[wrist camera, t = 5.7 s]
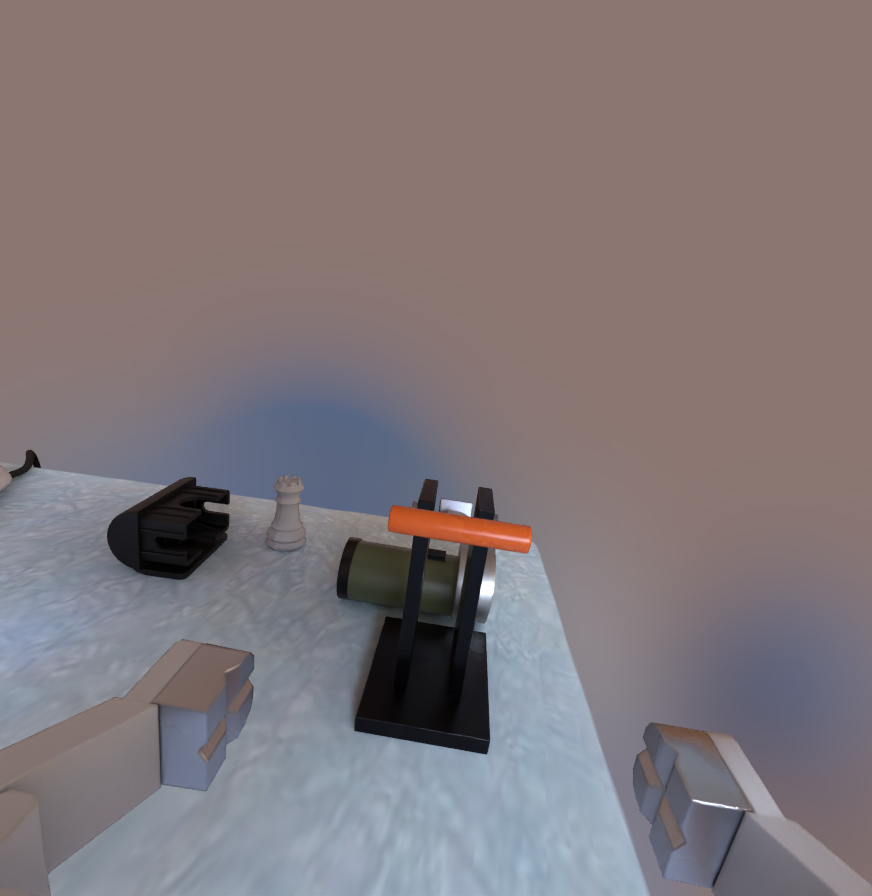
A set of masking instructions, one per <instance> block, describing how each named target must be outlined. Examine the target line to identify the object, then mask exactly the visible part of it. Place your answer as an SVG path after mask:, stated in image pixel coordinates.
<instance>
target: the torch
mask: <svg viewBox="0 0 872 896" xmlns="http://www.w3.org/2000/svg"><path fill="white" fill-rule="evenodd" d="M468 548H469V544H463V543H460V547H459V553H458V556H453V555H447V554H446V551H441V550H435V549H429V550H428V557H427V564H426V571H425V577H424V584H423V591H422V598H421V605H420V611H422V612H428V613H434V614H440V615H446V616H450V617H451V618H454V619H456V618H457V612H458V607H459V601H460V595H461V589H462V583H463V577H464V571H465V565H466V559H467V554H468ZM411 551H412V549H410V548H403V547H397V546H391V545H385V544H379V543H372V542H366V541H362V539H360V538H354V537H350V538H349V539H348V541H347V543H346V545H345V548H344V551H343V554H342V558H341V561H340V566H339V571H338V578H337V596H338V598H343V599H350V600H356V601H362V602H368V603H374V604H380V605H386V606H392V607H398V608H404V604H405V596H406V589H407V581H408V574H409V566H410V559H411ZM495 571H496V555H495V549H494V548H488V552H487V558H486V563H485V569H484V574H483V580H482V585H481V591H480V596H479V602H478V607H477V613H476V618H475V622H478V623H485V622H486V620H487V617H488V614H489V611H490V607H491V603H492V597H493V591H494V583H495Z"/></svg>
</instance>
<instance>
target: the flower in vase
mask: <svg viewBox="0 0 872 896" xmlns="http://www.w3.org/2000/svg"><path fill="white" fill-rule="evenodd" d="M11 480H12V477H11V475H10V474H9V472H8V471H7V470H6V469H5V468H4V467H2V466H0V491H2V490H4V489H5V488H6V487H7V486H8V484H9V483H10V482H11Z"/></svg>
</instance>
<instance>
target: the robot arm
mask: <svg viewBox="0 0 872 896" xmlns="http://www.w3.org/2000/svg"><path fill="white" fill-rule="evenodd" d="M32 465H33V467H35V468H41V466H40V462H39V460H38V457H37V456H36V454H35V453H34V452H33V451H32V450H28V451H26V461H25V464H24V465H23V466H22V467H21V468H19V469H17V470H14V471H11V472H9V474H10V475H11V477H12V478H13V477H16V476H19V475H22V474H24V473H25V472H27V471H28V470H29V469H30V468H31V467H32ZM253 670H254V655H253V654H252V653H251V652H247V651H242V650H237V649H232V648H227V647H222V646H217V645H212V644H207V643H206V644H204V643H199V642H194V641H189V640H185V639H182V640H180V641H178V642H176V643H174V644H173V646H172V647H171V648H170V649H169V650H168V651H167V652H166V653H165V654H164V655H163V656H162V657H161V658H160V659H159V660H158V661H157V662H156V663H155V665H154V666H153V667H152V668H151V669H150V670H149V671H148V672H147V673H146V674H145V675H144V676H143V677H142V678H141V679H140V680H139V681H138V682H137V683H136V685H135V686H134V687H133V688H132V689H131V690H130V691H129V692H128V693H127V694H126V695H125V696H124V697H123V698H118V697H114V698H112V699H110V700H108V701H105V702H103V703H101V704H99V705H97V706H95V707H92V708H90V709H88V710H86V711H84V712H82V713H79V714H77V715H75V716H73V717H71V718H69V719H67V720H64V721H62V722H60V723H58V724H56V725H54V726H51V727H49V728H47V729H45V730H43V731H41V732H38V733H36V734H34V735H32V736H30V737H28V738H25V739H23V740H21V741H19V742H17V743H15V744H12V745H10V746H8V747H6V748H4V749H2V750H0V896H51V895H50V888H49V880H48V873H49V872H51V871H52V870H53V869H55V868H56V867H57V866H58V865H60V864H61V863H62V862H64V861H65V860H66V859H68V858H69V857H70V856H72V855H73V854H74V853H75V852H77V851H78V850H79V849H81V848H82V847H83V846H85V845H86V844H87V843H89V842H90V841H91V840H93V839H94V838H95V837H96V836H98V835H99V834H100V833H102V832H103V831H104V830H106V829H107V828H108V827H110V826H111V825H112V824H113V823H115V822H116V821H117V820H119V819H120V818H121V817H123V816H124V815H125V814H127V813H128V812H129V811H131V810H132V809H133V808H134V807H136V806H137V805H138V804H140V803H141V802H142V801H144V800H145V799H146V798H148V797H149V796H150V795H151V794H153V793H154V792H155V791H157V790H158V789H159V788H160V787H161V785H167V786H174V787H180V788H187V789H193V790H200V791H207V790H208V788H209V786H210V784H211V783H212V781H213V779H214V777H215V776H216V774H217V772H218V771H219V769H220V767H221V765H222V764H223V762H224V760H225V759H226V745H227V744H228V743H230V742H231V741H233V740H235V739H236V738H238V736H239V734H240V732H241V730H242V729H243V727H244V725H245V722H246V720H247V717H248V714H249V712H250V709H251V704H252V699H253V685H252V684H251V682H250V681H249V679H248V678H249V676H250V674H251V673H252V671H253ZM643 739H644V742H645V744H646V747H647V748H646V749H645V750H643V751H642V752H641V753H639V754H638V755H637V757H636V761H635V764H634V768H633V786H634V792H635V798H636V801H637V804H638V806H639V810H640V812H641V813H642V814H643V815H644V816H645V817H646V819H647V820H648V821H649V822H650V823H651V824H652V828H651V831H650V834H649V839H650V842H651V845H652V848H653V851H654V853H655V856H656V859H657V862H658V865H659V868H660V871H661V874H662V876H663V878H667V879H671V880H676V881H680V882H684V883H689V884H693V885H698V886H703V887H707V888H711V889H713V890H712V892H713V893H714V895H715V896H872V885H871V884H869V883H868V882H867V881H866V880H865V879H863V878H862V877H861V876H860V875H858V874H857V873H856V872H855V871H854V870H853V869H851V868H850V867H849V866H848V865H847V864H846V863H844V862H843V861H842V860H841V859H839V858H838V857H837V856H836V855H835V854H834V853H832V852H831V851H830V850H829V849H828V848H826V847H825V846H824V845H823V844H822V843H820V842H819V841H818V840H817V839H816V838H814V837H813V836H812V835H811V834H810V833H808V832H807V831H806V830H805V829H804V828H803V827H801V826H800V825H799V824H798V823H796V822H795V821H794V820H790V819H785V818H784V816H783V814H782V813H781V811H780V810H779V808H778V806H777V805H776V803H775V802H774V800H773V798H772V797H771V796H770V794H769V792H768V791H767V789H766V788H765V786H764V785H763V783H762V781H761V780H760V778H759V776H758V775H757V773H756V772H755V770H754V769H753V767H752V765H751V764H750V762H749V761H748V759H747V758H746V756H745V755H744V753H743V752H742V750H741V748H740V747H739V745H738V744H737V742H736V741H735V740H734V739H733V738H732V737H731V736H730V735H727V734H721V733H715V732H708V731H699V730H694V729H688V728H682V727H676V726H669V725H664V724H658V723H652V722H651V723H650V724H649V725H648V726H647V727H646V729H645V732H644V735H643Z"/></svg>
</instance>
